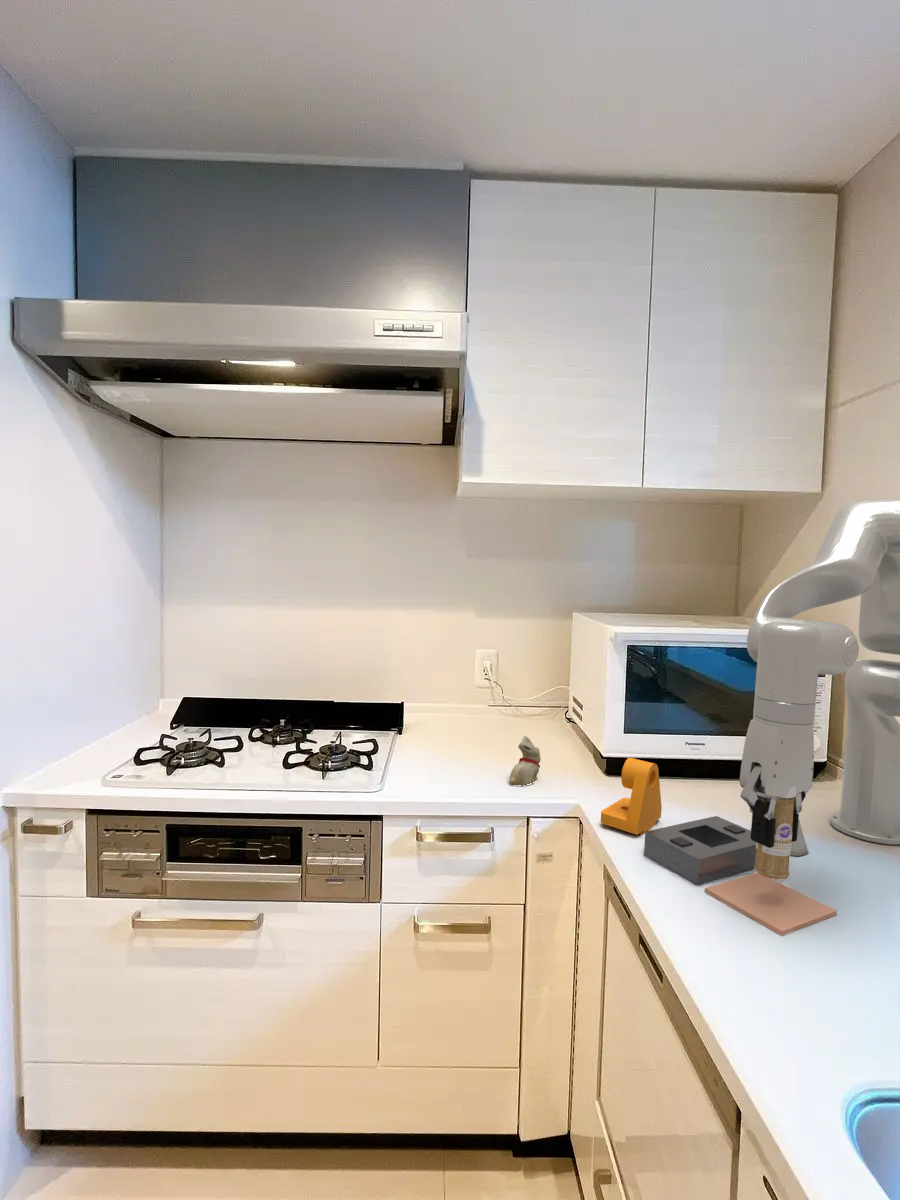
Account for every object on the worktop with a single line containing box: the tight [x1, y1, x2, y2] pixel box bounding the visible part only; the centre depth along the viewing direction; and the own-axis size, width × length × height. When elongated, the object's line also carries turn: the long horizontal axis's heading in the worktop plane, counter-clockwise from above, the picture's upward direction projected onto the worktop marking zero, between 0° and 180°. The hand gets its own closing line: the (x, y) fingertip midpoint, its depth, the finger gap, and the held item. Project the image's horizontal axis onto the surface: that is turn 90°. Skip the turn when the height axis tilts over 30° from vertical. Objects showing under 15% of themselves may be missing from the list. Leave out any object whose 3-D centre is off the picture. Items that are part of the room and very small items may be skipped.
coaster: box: [704, 872, 838, 937], centre depth 91 cm, size 12×12×1 cm
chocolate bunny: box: [509, 735, 542, 786], centre depth 137 cm, size 6×8×10 cm
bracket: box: [600, 757, 663, 836], centre depth 117 cm, size 11×7×12 cm, turn 141°
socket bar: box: [643, 815, 756, 886], centre depth 103 cm, size 17×11×4 cm, turn 119°
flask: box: [790, 820, 809, 857], centre depth 110 cm, size 7×7×10 cm
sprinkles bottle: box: [754, 786, 796, 881], centre depth 90 cm, size 5×5×13 cm
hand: (773, 839), depth 90 cm, fingers closed on sprinkles bottle, 4 cm apart
